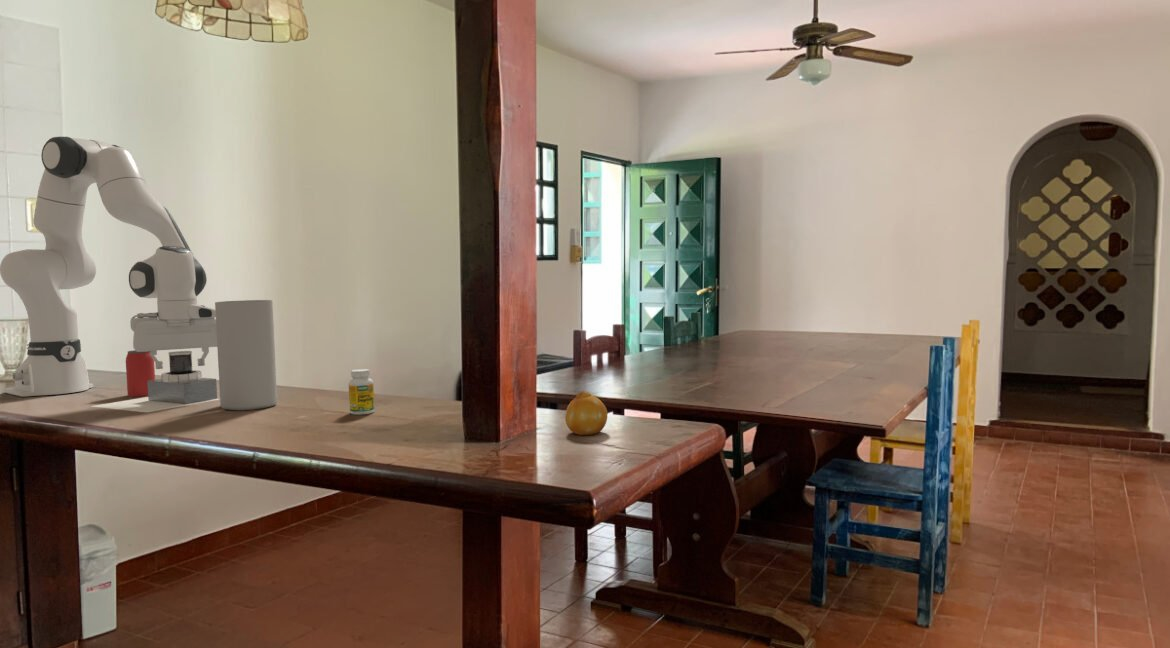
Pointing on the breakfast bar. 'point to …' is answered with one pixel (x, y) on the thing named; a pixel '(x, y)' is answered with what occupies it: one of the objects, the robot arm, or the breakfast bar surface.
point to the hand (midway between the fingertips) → (180, 367)
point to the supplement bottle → (361, 392)
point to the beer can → (139, 372)
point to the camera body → (182, 388)
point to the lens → (180, 362)
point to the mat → (144, 405)
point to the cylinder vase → (246, 354)
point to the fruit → (586, 414)
